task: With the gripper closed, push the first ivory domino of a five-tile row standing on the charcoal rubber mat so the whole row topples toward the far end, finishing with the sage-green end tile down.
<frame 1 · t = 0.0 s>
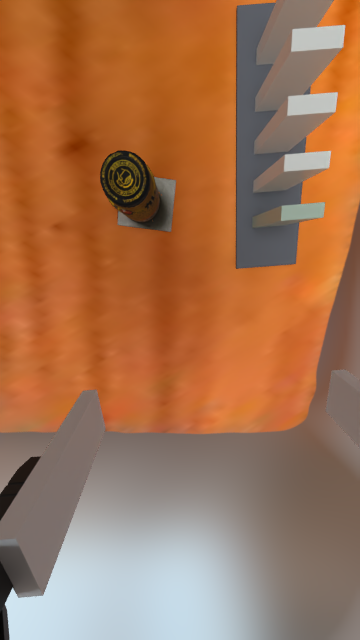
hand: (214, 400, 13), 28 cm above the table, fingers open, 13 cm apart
domino 1: (275, 55, 29), resting on mat
domino 4: (269, 185, 34), resting on mat
domino 3: (271, 146, 32), resting on mat
condiment: (146, 203, 35), on the table
mat: (269, 155, 33), on the table
domino 5: (268, 221, 35), resting on mat
domino 2: (273, 103, 31), resting on mat
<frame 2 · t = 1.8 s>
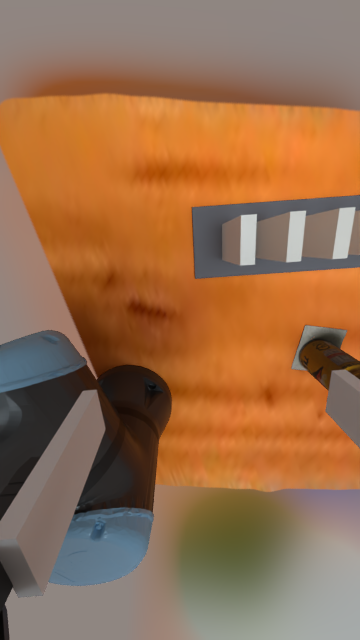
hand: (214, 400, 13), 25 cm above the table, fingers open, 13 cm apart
domino 1: (227, 242, 33), resting on mat
domino 4: (329, 235, 33), resting on mat
domino 3: (295, 237, 33), resting on mat
condiment: (316, 349, 39), on the table
mat: (300, 237, 33), on the table
domino 2: (261, 239, 33), resting on mat
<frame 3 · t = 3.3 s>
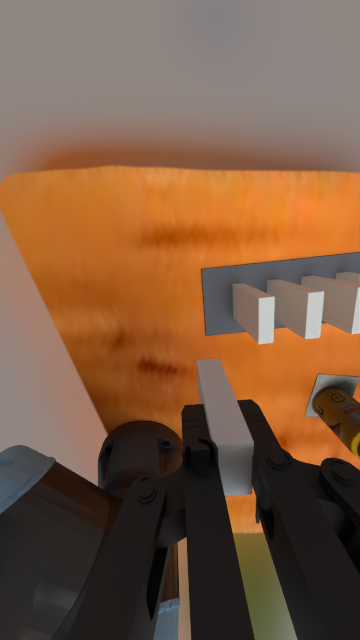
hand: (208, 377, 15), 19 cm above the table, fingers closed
domino 1: (238, 300, 32), resting on mat
domino 4: (339, 289, 33), resting on mat
domino 3: (306, 293, 32), resting on mat
condiment: (330, 395, 39), on the table
mat: (311, 292, 33), on the table
domino 2: (272, 296, 32), resting on mat
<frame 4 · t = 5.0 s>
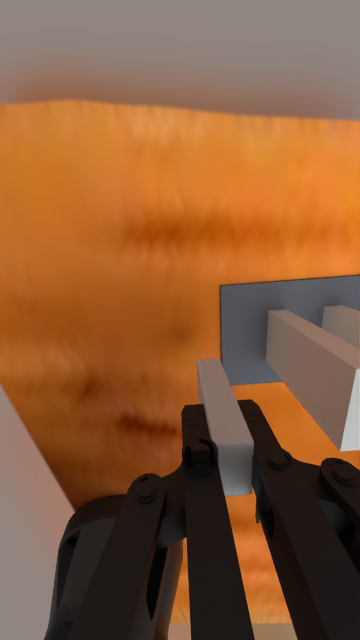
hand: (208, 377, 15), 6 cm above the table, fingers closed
domino 1: (275, 335, 21), resting on mat
domino 2: (329, 331, 21), resting on mat
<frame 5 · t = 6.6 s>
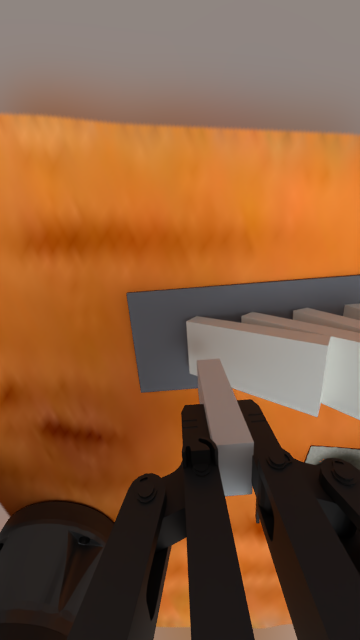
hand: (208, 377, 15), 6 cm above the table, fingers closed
domino 1: (193, 345, 20), point 1 cm above the table, tilted 51°, touching mat
domino 4: (349, 330, 21), resting on mat
domino 3: (297, 335, 20), point 1 cm above the table, tilted 20°, touching mat
condiment: (327, 472, 27), on the table
mat: (303, 331, 21), on the table
domino 2: (246, 340, 20), point 1 cm above the table, tilted 37°, touching mat
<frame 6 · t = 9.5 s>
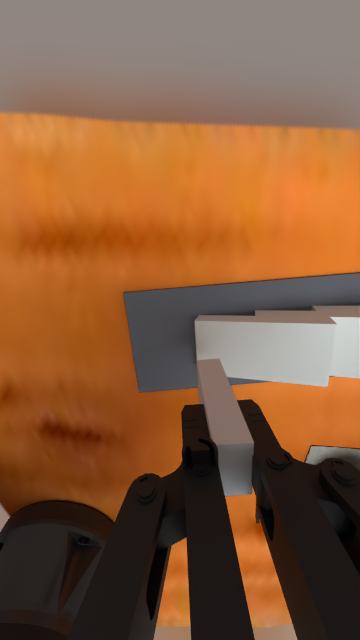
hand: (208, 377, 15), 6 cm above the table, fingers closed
domino 1: (198, 344, 20), point 1 cm above the table, tilted 71°, touching domino 2, mat
condiment: (328, 472, 27), on the table
mat: (303, 330, 21), on the table
domino 2: (254, 339, 20), point 1 cm above the table, tilted 71°, touching domino 1, domino 3, mat
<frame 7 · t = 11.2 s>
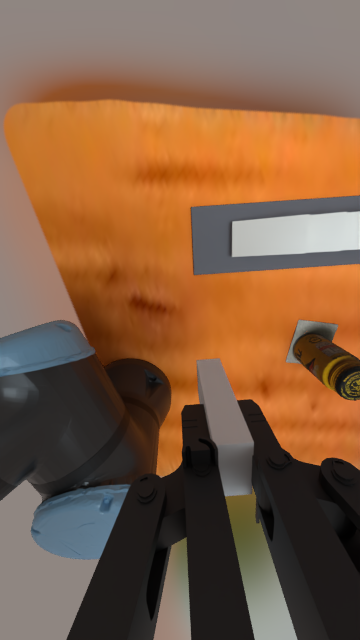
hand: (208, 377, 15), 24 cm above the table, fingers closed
domino 1: (232, 239, 34), point 1 cm above the table, tilted 71°, touching domino 2
domino 3: (297, 235, 34), point 1 cm above the table, tilted 72°, touching domino 2, domino 4, mat
condiment: (309, 342, 41), on the table
mat: (293, 235, 35), on the table
domino 2: (265, 237, 34), point 1 cm above the table, tilted 71°, touching domino 1, domino 3, mat
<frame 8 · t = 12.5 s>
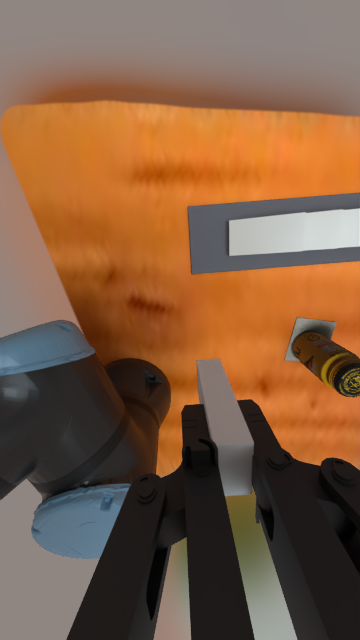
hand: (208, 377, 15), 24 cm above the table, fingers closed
domino 1: (229, 238, 34), point 1 cm above the table, tilted 71°, touching domino 2, mat
domino 3: (294, 233, 34), point 1 cm above the table, tilted 72°, touching domino 2, domino 4, mat
condiment: (308, 340, 41), on the table
mat: (290, 233, 35), on the table
domino 2: (262, 236, 34), point 1 cm above the table, tilted 71°, touching domino 1, domino 3, mat
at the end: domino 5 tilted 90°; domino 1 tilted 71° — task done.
